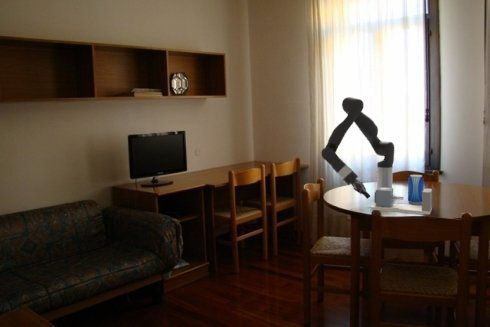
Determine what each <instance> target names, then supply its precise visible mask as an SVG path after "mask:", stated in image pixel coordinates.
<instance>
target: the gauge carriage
mask: <svg viewBox="0 0 490 327" xmlns="http://www.w3.org/2000/svg"><path fill="white" fill-rule="evenodd" d="M404 199H405V198H404V196H398V195H397V196H395V195H394V187H392V188H383V187H378V188H377V187H376V189H375V191H374V203H376V204H375V206H382V207H391V206H392V205H393V204H394V200H401V201H402V200H403V201H404Z"/></svg>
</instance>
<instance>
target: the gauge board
mask: <svg viewBox="0 0 490 327" xmlns="http://www.w3.org/2000/svg"><path fill="white" fill-rule="evenodd" d="M375 204H376V203H375V202H374V203H373V204H372V206H370V210H371V209H373V210H372V211H382V212H392V213H393V212H397V213H407V214H408V213H409V214H419V215H431V212H432V209H433V188H425V187H424V190H423V192H422V204H421V205H418V204H403V203H402V204H400V203H393V205H392V206H391V207H382V206H375Z"/></svg>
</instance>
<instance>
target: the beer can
mask: <svg viewBox="0 0 490 327" xmlns="http://www.w3.org/2000/svg"><path fill="white" fill-rule="evenodd" d="M424 183H425V179H424V177H423V175H422V174H410V175H409V177H408V179H407V202H408V203H409V204H410V205H422V192H423V190H424V188H425V187H424V186H425V184H424Z"/></svg>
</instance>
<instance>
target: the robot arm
mask: <svg viewBox="0 0 490 327" xmlns="http://www.w3.org/2000/svg"><path fill="white" fill-rule="evenodd" d="M364 104H365V103H364V102H363V100H362V99H360V98H357V97H353V96H352V97H351V96H348V97H345V98H344V99H343V100H342V103H341V107H342V110H343V111H344V112H345V113H346V117H345V118H344V120H342V122H340V123H339V124H338V125H337V126H336V127H334V129H333V131H332V132H331V134H330V136H329V138H328V140H327V144H326V145H325V147H324V148H323V149H322V150H321V152H320V153H321V157H322V159H323V160H325V161H326V162H327V163H328V164H329V165H330V166H331V168H332V170H334V171H335V172H336V173H337V175H338V176H339V178H341V179H342V181H344V183H345V184H346V185H347V186H349V185H351V186H352V188H353V190H354V191H356V192H357V193H358V194H360V195H363V197H365V198H366V199H369V198H370V197H371V195H370V194H369V193H368V191H367V188H366V187H365V185H364V183H363V181H360V180H358V177H359V176H358V174H357V173H356V172H354V170H353V169H352V168H351V167H350V166H348V164H346V163H345V161H343V160H342V159H341V158H340V157H339V156H338V154H337V151H338V148H339V146H340V145H341V143H342V141H343V139H344V137H345V135H346V134H347V132H348V131H349V129H350V128H351V126H353V124H354V123H355V125H356V126H357V127H358V129H359V131H360V132H361V133H362V135H363V136H364V137H365V138H366V140H367V142H368V143H369V144H370V146H371V148H372V149H373V151H374V153H375V154H376V155H377V156H379V157H383V160H380V161H378V162H377V164H376V165H377V168H376V169H377V170H376V173H377V174H376V189H377V188H378V187H383V188H393V170H394V169H393V164H394V162H395V160H394V159H395V145H394V143H393V142H392V141H386V140H385V141H382V140H381V139H380V138H379V136H378V133H379V127H378V126H377V125H376V123H375V122H374V120H373V119H371V118H370V117H369V116H368V115H366V114H365V113H364V112H363V109H364Z"/></svg>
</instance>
